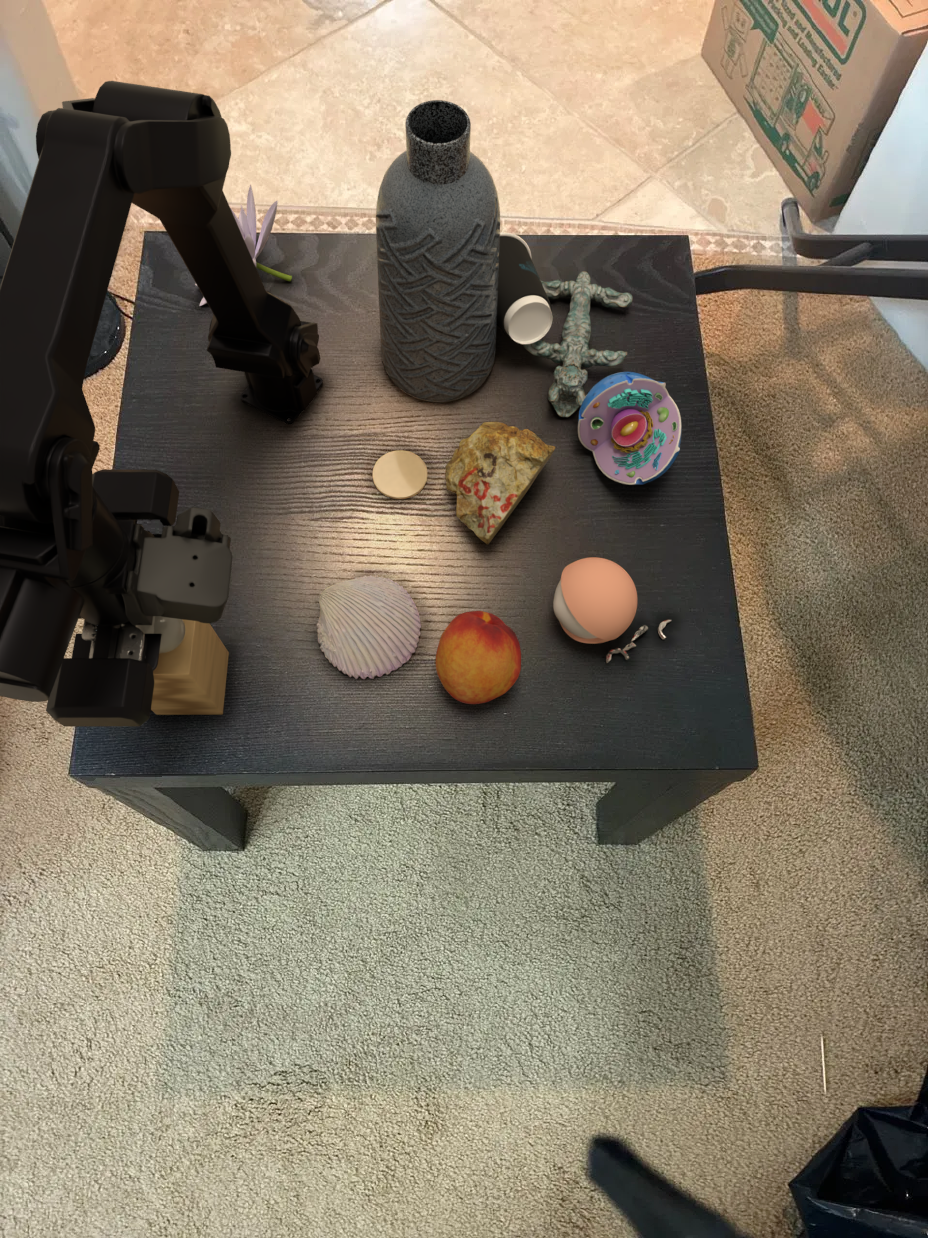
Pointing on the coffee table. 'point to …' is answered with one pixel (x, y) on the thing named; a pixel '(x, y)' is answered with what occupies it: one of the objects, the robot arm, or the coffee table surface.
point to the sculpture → (577, 340)
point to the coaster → (399, 474)
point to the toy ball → (595, 600)
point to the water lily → (249, 234)
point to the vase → (438, 259)
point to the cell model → (630, 427)
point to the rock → (494, 474)
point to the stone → (166, 632)
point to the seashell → (367, 626)
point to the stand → (192, 674)
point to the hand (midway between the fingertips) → (153, 636)
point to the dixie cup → (520, 293)
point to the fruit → (478, 657)
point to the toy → (636, 635)
